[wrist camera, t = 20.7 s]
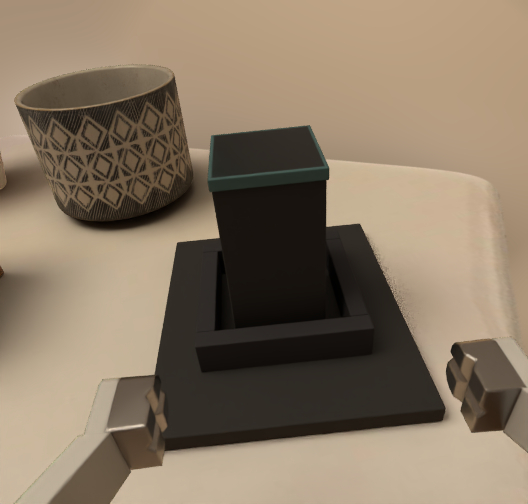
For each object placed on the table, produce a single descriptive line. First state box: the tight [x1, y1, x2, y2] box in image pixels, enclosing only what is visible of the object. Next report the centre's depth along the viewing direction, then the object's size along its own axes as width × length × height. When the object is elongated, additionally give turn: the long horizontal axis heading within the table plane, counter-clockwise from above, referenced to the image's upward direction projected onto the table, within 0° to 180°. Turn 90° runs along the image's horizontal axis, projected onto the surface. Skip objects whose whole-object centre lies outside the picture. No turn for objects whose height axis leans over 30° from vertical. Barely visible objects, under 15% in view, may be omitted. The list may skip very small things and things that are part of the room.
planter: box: [14, 65, 193, 221], centre depth 38 cm, size 13×13×10 cm
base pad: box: [155, 224, 446, 450], centre depth 26 cm, size 16×14×3 cm
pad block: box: [208, 125, 329, 329], centre depth 23 cm, size 5×5×10 cm
